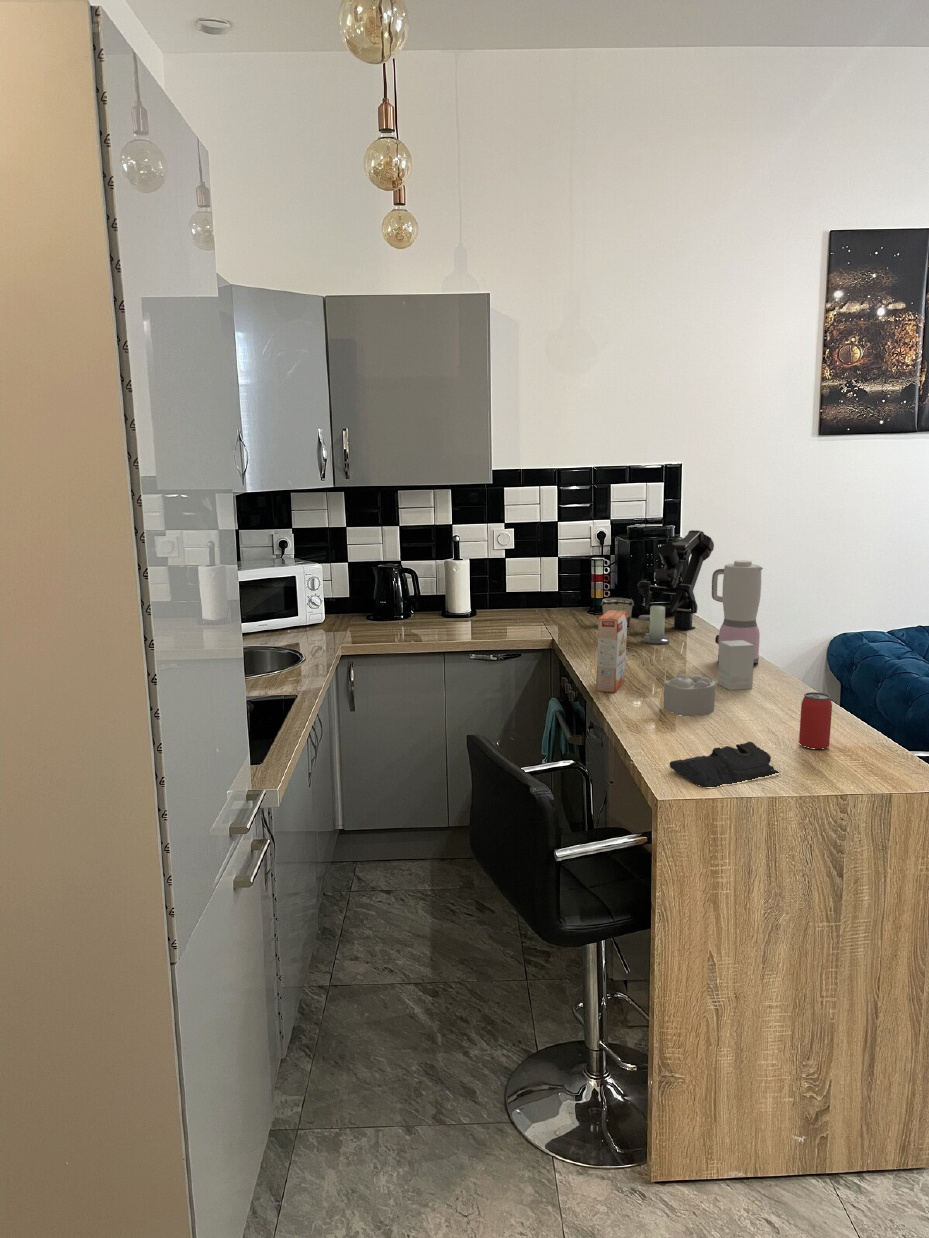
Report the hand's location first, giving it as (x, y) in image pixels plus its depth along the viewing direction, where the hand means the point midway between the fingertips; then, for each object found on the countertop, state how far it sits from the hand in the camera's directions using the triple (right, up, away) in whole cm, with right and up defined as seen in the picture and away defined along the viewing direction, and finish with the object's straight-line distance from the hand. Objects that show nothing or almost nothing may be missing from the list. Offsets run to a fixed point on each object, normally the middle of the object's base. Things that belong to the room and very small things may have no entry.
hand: (658, 610), depth 326 cm
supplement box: (+10, -22, -57) cm, 62 cm away
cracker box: (-25, -22, -57) cm, 66 cm away
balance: (0, -10, +8) cm, 13 cm away
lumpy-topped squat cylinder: (-8, -27, -79) cm, 84 cm away
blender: (+17, -17, -29) cm, 38 cm away
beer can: (+13, -32, -109) cm, 114 cm away
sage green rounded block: (0, -10, +1) cm, 10 cm away
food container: (-10, -6, +30) cm, 32 cm away
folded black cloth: (-12, -36, -124) cm, 130 cm away
